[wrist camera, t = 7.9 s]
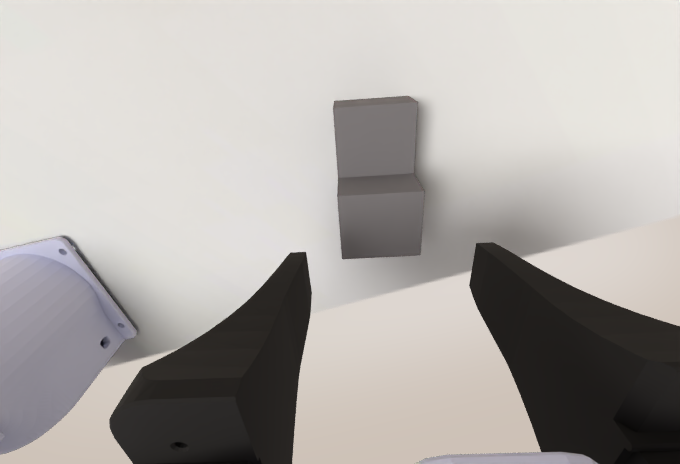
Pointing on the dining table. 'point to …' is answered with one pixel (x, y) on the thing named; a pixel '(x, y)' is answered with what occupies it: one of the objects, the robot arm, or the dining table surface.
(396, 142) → the gray stepped block
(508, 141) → the dining table surface
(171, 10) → the dining table surface
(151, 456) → the robot arm
